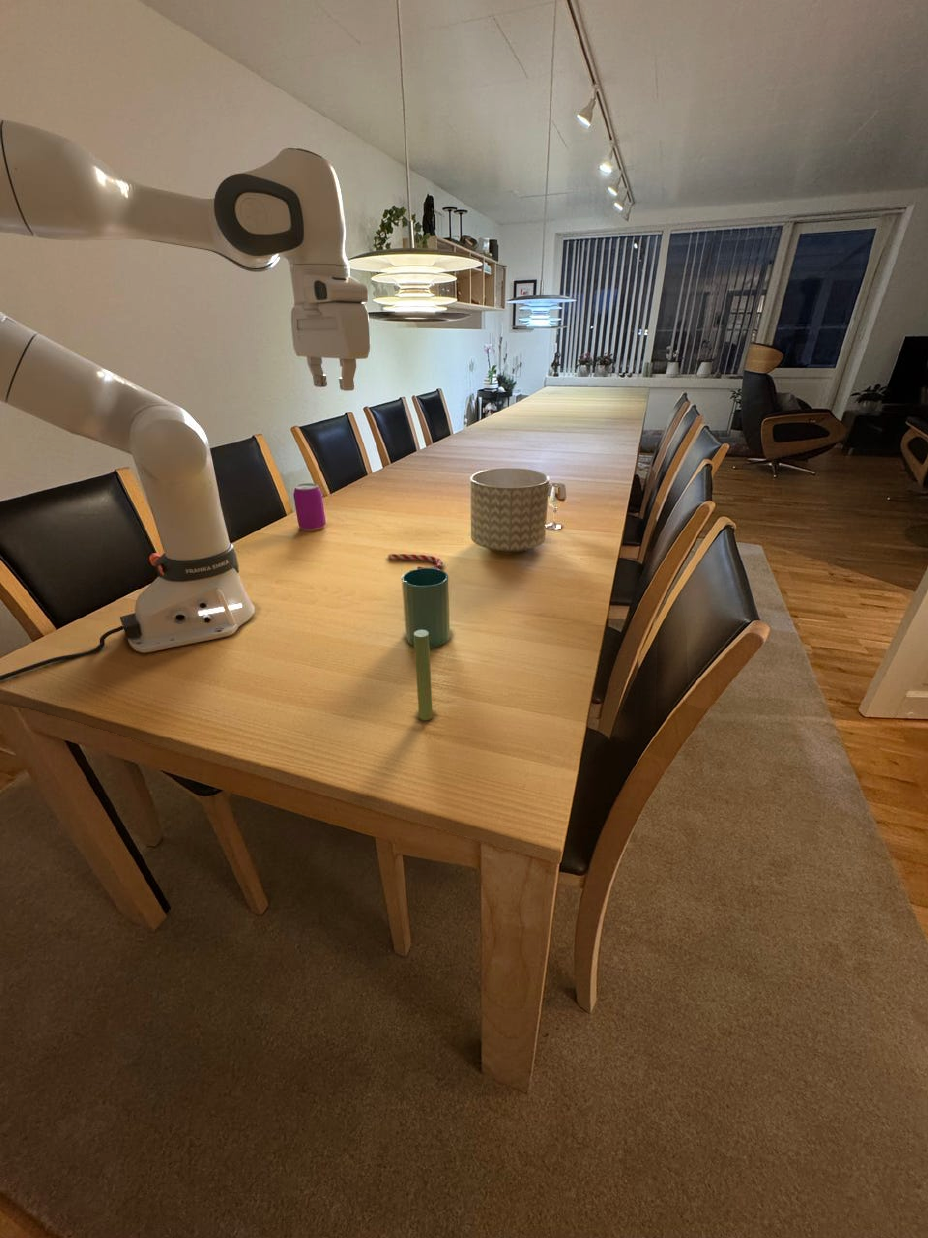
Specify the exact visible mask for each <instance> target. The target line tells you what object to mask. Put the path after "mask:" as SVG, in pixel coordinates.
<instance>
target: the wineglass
mask: <svg viewBox="0 0 928 1238" xmlns="http://www.w3.org/2000/svg"><path fill="white" fill-rule="evenodd" d="M566 500H567V487H566V484H564V483H563V482H552V483H551V482H549V492H548V507H550V508H551V509H552V523H549V524H546V529H548V530H553V531H554V530H560V529H562V526H561V525H560V524H556V515H557V509H558V508H561V507H563V506H564V505H565V504H566Z"/></svg>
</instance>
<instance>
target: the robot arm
mask: <svg viewBox="0 0 928 1238" xmlns="http://www.w3.org/2000/svg"><path fill="white" fill-rule="evenodd" d="M343 203H344V202H343V197H342V191H341V187H340V183H339V179H338V175H337V173H336V170H335V169H334V167H333V166H332V164H331V163H330V162H329V161H328V160H326V159H325V158H324V157H323V156H321V155H320V154H318V153H316V152H314V151H310V150H307V149H305V148H299V147H297V148H294V147H287V148H283V149H281V150H280V152H279V153H278V154H277V155H276V156H275V157H274V158H273V159H271V160H270V161H268V162H267V163H265V164H263V165H261V166H259V167H257V168H254V169H251V170H248V171H245V172H244V171H243V172H240V173H234V174H231V175H229V176H228V177H226V178H224V179H223V180H222V181H221V182H220V184H219V185H218V187H217V189H216V191H215V194H214V197H213V198H202V197H198V196H197V197H196V196H192V195H187V194H183V193H178V192H174V191H170V190H164V189H159V188H154V187H150V186H147V185H144V184H141V183H138V182H136V181H134V180H131V179H130V178H128V177H127V176H124V175H123V174H121V173H119V172H118V171H116V170H114V169H113V168H112V167H110V166H109V165H108V164H106V163H104V162H103V161H102V160H100V159H99V158H98V157H97V156H96V155H94V154H93V153H91V152H90V151H89V150H88V149H86V148H85V147H84V146H82V145H81V144H80V143H78V142H75V141H73V140H71V139H68V138H66V137H64V136H61V135H59V134H56V133H54V132H51V131H49V130H45V129H42V128H40V127H36V126H33V125H29V124H25V123H22V122H17V121H13V120H7V119H3V118H0V233H3V234H13V235H22V236H26V237H34V238H41V239H48V240H59V241H62V240H63V241H77V242H78V241H81V242H82V241H87V242H88V241H111V240H143V241H144V240H145V241H153V242H158V243H163V244H164V243H165V244H170V245H175V246H182V247H186V248H187V247H188V248H191V249H192V248H193V249H198V250H203V251H208V252H212V253H214V254H216V255H219V256H220V257H222V258H223V259H225V260H227V261H229V262H230V263H232V264H233V265H235V266H237V267H239V268H240V269H243V270H245V271H248V272H255V273H259V272H265V271H268V270H270V269H271V268H273V267H274V266H276V264H277V263H278V262H279V260H280V258H282V259H283V258H284V259H286V260H287V261H288V266H289V272H290V273H289V274H290V281H291V286H292V294H293V301H294V303H293V306H292V308H291V310H290V327H291V328H290V329H291V339H292V347H293V351H294V352H295V355H296V356H297V357H305V358H306V364H307V367H308V368H309V371H310V373H311V375H312V380H313V381H312V382H313V386H314V387H317V388H324V387H325V388H326V387H327V386H328V382H327V375H325V373H324V371H323V366H322V364H323V359H322V358H325V359H326V358H327V359H339V366H340V367H341V376H340V377H339V378H338V383H339V388H340V390H341V391H346V392H347V391H353V390H354V389H355V382H354V381H355V380H354V378H355V373H356V369H357V360H362V359H367V358H368V357H369V355H370V352H371V331H370V319H369V318H370V316H369V312H368V311H369V310H368V308H367V306H366V305H365V303H368V301H369V290H368V286H367V285H366V284H364V283H362V282H360V281H359V280H357V279H355V278H354V277H353V276H351V274H350V273H351V272H350V264H349V260H348V258H347V255H346V249H345V248H346V247H345V246H346V237H347V228H346V217H345V210H344V204H343ZM0 402H2V403H5V404H7V405H8V406H11V407H13V408H15V409H17V410H19V411H22V412H24V413H26V414H29V415H31V416H33V417H35V418H37V419H40V420H42V421H44V422H46V423H48V424H50V425H53V426H54V427H57V428H59V429H61V430H64V431H66V432H68V433H70V434H72V435H75V436H80V437H82V438H86V439H88V440H91V441H94V442H98V443H100V444H103V445H106V446H108V447H111V448H114V449H115V450H119V451H121V452H124V453H126V454H128V455H130V456H132V458H133V461H134V464H135V467H136V471H137V474H138V476H139V479H140V483H141V485H142V488H143V492H144V494H145V497H146V501H147V503H148V507H149V509H150V511H151V515H152V518H153V521H154V524H155V527H156V530H157V534H158V537H159V540H160V543H161V547H162V550H163V554H162V555H161V554H159V553H157V552H154V553H151V554H150V555H149V557H148V558H149V562H150V564H151V565H152V566H153V567H155V570H156V573H157V575H158V576H157V577H156V578H155V579H154V580H153V581H152V582H151V583H150V584H149V585H148V586H147V587H146V588H145V589H144V590H143V591H142V592H141V593H140V594H139V595H138V597H137V598H136V601H135V607H134V613H130V614H126V615H122V616H119V620H120V623H121V625H120V626H118V627H115V628H113V629H110V630H108V631H106V632H105V633H103V634H102V635H101V636H100V638H99V644H98V645H97V646H96V647H95V648H92V649H90V650H88V651H84V652H80V653H71V654H66V655H59V656H55V657H52V658H48V659H44V660H42V661H38V662H36V663H33V664H30V665H28V666H24V667H21V668H19V669H16V670H13V671H10V672H7V673H5V674H1V675H0V681H4V680H6V679H9V678H12V677H15V676H17V675H20V674H23V673H26V672H29V671H32V670H34V669H38V668H40V667H43V666H47V665H50V664H52V663H55V662H60V661H64V660H65V661H66V660H70V659H76V658H80V657H83V656H87V655H90V654H94V653H96V652H99V651H101V650H102V649H103V648H104V647H105V645H106V642H105V641H106V639H107V638H108V637H109V636H111V635H114V634H116V633H119V632H121V631H124V633H125V636H126V639H127V641H128V644H129V646H130V647H131V648H132V649H133V650H135V651H137V652H140V653H143V654H145V653H151V652H156V651H157V652H158V651H161V650H165V649H170V648H175V647H181V646H186V645H191V644H197V643H200V642H205V641H206V642H207V641H210V640H216V639H222V638H226V637H231V636H232V635H233V634H235V633H236V631H237V630H238V628H239V627H241V626H243V624H245V623H246V622H248V621H250V619H251V618H252V617H253V616H254V614H255V612H256V607H255V605H254V604H253V602H252V601H251V599H250V597H249V595H248V593H247V590H246V589H245V587H244V584H243V582H242V580H241V579H242V578H241V576H240V574H239V573H240V569H239V567H240V566H239V561H238V557H237V553H236V550H235V547H234V545H233V544H232V543H231V542H230V538H229V533H228V529H227V526H226V522H225V517H224V513H223V508H222V505H221V500H220V492H219V487H218V483H217V482H218V481H217V477H216V473H215V469H214V462H213V458H212V453H211V448H210V444H209V440H208V438H207V435H206V433H205V431H204V429H203V428H202V427H201V426H200V425H199V424H198V423H197V422H196V420H195V419H194V418H193V417H192V415H190V414H189V413H188V412H187V411H186V410H184V409H183V408H182V407H180V406H179V405H176V404H175V403H172V402H171V401H169V400H167V399H165V398H163V397H161V396H159V395H157V394H155V393H154V392H152V391H150V390H148V389H146V388H144V387H141V386H140V385H138V384H136V383H134V382H133V381H130V380H128V379H126V378H124V377H122V376H121V375H118V374H116V373H114V372H112V371H110V370H108V369H106V368H104V367H102V366H100V365H98V364H97V363H94V362H93V361H91V360H89V359H88V358H85V357H84V356H82V355H80V354H78V353H76V352H74V351H72V350H71V349H69V348H67V347H65V346H63V345H61V344H59V343H58V342H56V341H53V339H50V338H49V337H46V336H45V335H43V334H41V333H39V332H37V331H35V330H33V329H32V328H29V327H28V326H26V325H24V324H22V323H20V322H18V321H17V320H15V319H14V318H11V317H10V316H8V315H6V314H4V313H3V312H2V311H0Z"/></svg>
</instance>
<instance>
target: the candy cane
mask: <svg viewBox="0 0 928 1238" xmlns="http://www.w3.org/2000/svg"><path fill="white" fill-rule="evenodd" d="M387 558H388V560H410V561H412V560H413V561H425V562H427V561H428V562H432V563H435V564H436V565H432V566H417V567H416V569H419V568H435V569H439V570H442V568H443V565H444V564H443V561H442V560H441V558H438V557H436V556H432V555H427V554H417V553H416V554H411V553H389V554H388V556H387Z"/></svg>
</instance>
